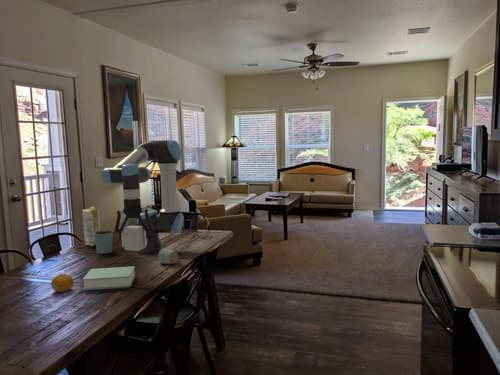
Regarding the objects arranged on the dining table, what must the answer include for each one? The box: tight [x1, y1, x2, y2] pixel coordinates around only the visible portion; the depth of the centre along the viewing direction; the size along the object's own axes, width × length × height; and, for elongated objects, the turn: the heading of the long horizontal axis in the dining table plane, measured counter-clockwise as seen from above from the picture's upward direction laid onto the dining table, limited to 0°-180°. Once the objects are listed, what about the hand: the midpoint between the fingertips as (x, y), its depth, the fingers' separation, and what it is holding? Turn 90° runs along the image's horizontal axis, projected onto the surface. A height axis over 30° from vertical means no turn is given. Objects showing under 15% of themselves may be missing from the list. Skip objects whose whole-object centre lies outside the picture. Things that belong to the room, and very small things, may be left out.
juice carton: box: [82, 206, 101, 247], centre depth 246 cm, size 9×8×24 cm
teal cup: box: [94, 230, 114, 255], centre depth 228 cm, size 10×10×12 cm
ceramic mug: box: [157, 248, 179, 265], centre depth 205 cm, size 11×8×8 cm
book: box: [82, 265, 136, 291], centre depth 177 cm, size 14×20×5 cm
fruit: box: [50, 273, 74, 293], centre depth 169 cm, size 8×8×8 cm
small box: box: [122, 225, 146, 251], centre depth 180 cm, size 8×6×10 cm
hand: (134, 245), depth 180 cm, fingers closed on small box, 9 cm apart
